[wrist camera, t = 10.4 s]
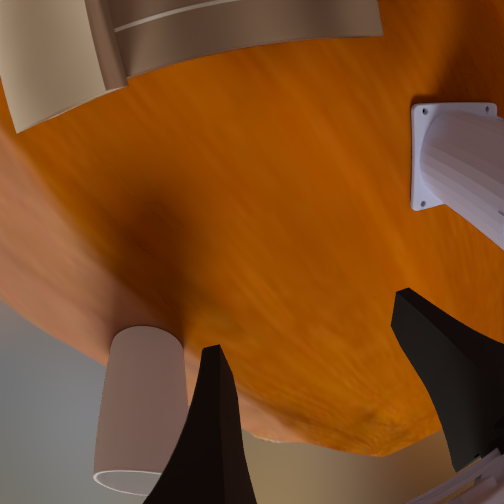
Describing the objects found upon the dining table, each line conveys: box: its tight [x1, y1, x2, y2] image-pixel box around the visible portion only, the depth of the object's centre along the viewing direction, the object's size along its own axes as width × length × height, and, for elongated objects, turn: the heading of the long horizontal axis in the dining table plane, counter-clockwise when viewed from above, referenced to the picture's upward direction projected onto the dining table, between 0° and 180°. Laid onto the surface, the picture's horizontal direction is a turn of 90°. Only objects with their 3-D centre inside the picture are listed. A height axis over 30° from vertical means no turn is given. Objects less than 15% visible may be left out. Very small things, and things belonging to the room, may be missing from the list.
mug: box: [93, 326, 189, 496], centre depth 20 cm, size 10×7×12 cm, turn 132°
